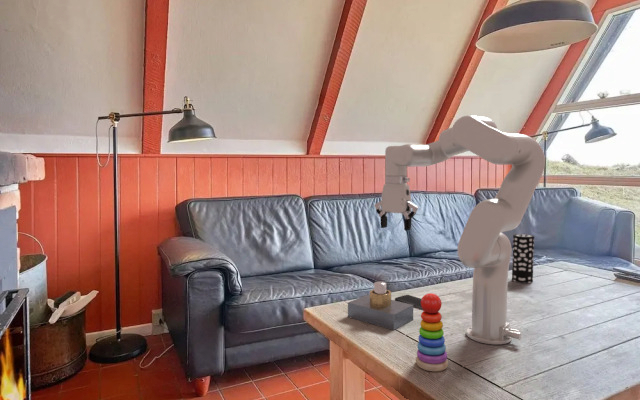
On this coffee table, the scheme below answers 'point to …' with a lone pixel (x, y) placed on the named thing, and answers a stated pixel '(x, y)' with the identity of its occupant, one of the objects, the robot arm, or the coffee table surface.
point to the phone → (410, 300)
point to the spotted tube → (523, 258)
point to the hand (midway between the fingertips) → (395, 228)
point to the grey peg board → (380, 310)
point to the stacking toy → (431, 336)
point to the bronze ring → (380, 299)
